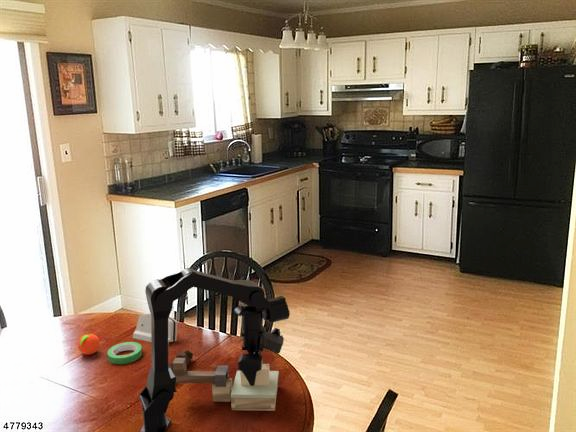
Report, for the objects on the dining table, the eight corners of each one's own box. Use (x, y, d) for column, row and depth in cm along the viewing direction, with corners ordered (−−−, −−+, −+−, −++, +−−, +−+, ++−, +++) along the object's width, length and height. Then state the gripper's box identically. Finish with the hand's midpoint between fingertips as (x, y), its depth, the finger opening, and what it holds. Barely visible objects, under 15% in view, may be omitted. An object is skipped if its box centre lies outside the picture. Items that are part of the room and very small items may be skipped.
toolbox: (274, 410, 139) (273, 381, 137) (210, 409, 140) (208, 381, 138) (277, 386, 151) (276, 359, 149) (218, 385, 152) (216, 359, 150)
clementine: (90, 361, 168) (87, 341, 166) (72, 358, 170) (70, 339, 168) (104, 349, 175) (102, 330, 174) (87, 347, 177) (85, 328, 176)
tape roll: (122, 368, 164) (121, 360, 163) (101, 359, 170) (100, 351, 169) (149, 354, 172) (148, 347, 172) (128, 345, 179) (127, 339, 178)
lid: (275, 398, 138) (275, 378, 137) (230, 397, 139) (229, 378, 137) (278, 374, 150) (278, 355, 149) (237, 373, 151) (236, 355, 150)
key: (215, 383, 143) (214, 363, 142) (174, 383, 144) (172, 363, 142) (217, 378, 146) (216, 358, 145) (176, 377, 147) (175, 357, 145)
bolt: (191, 364, 168) (166, 387, 154) (180, 355, 169) (153, 377, 155) (198, 352, 166) (173, 373, 152) (186, 343, 167) (160, 363, 153)
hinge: (131, 337, 184) (135, 310, 185) (140, 336, 188) (144, 309, 189) (168, 346, 177) (172, 317, 178) (176, 345, 181) (180, 317, 182)
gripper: (279, 342, 131) (280, 395, 134) (283, 312, 149) (284, 360, 153) (236, 341, 131) (239, 395, 135) (245, 312, 150) (247, 360, 153)
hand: (254, 376), depth 144 cm, fingers open, 9 cm apart
